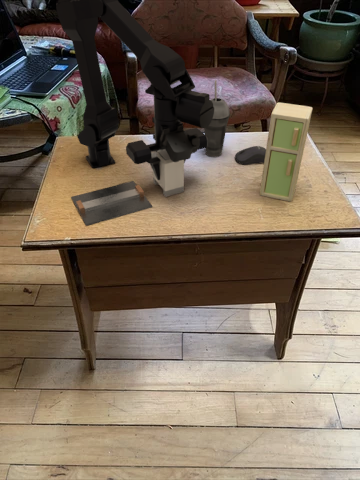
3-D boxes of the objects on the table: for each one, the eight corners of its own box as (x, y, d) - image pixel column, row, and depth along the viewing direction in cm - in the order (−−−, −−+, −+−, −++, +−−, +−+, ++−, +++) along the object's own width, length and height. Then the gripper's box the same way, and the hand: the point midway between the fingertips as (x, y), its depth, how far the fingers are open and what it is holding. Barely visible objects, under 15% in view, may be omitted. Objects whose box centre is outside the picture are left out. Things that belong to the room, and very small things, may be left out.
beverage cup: (210, 162, 112) (215, 89, 99) (195, 151, 117) (198, 80, 104) (231, 155, 115) (238, 83, 102) (216, 144, 120) (221, 74, 107)
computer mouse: (232, 156, 115) (234, 143, 112) (264, 154, 116) (266, 141, 113) (237, 166, 111) (239, 153, 108) (270, 164, 112) (273, 151, 109)
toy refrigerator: (257, 196, 99) (270, 114, 86) (264, 181, 105) (277, 101, 91) (290, 204, 97) (309, 120, 84) (295, 188, 102) (314, 106, 89)
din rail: (71, 198, 98) (70, 191, 97) (133, 182, 104) (132, 176, 103) (86, 226, 90) (85, 219, 89) (152, 207, 96) (152, 200, 95)
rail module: (153, 182, 104) (152, 149, 98) (171, 178, 106) (170, 145, 100) (165, 196, 99) (164, 163, 93) (183, 191, 101) (184, 158, 95)
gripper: (142, 139, 82) (146, 203, 92) (222, 122, 88) (217, 183, 98) (122, 118, 89) (128, 179, 99) (197, 103, 96) (195, 162, 106)
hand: (168, 176), depth 100 cm, fingers closed on rail module, 5 cm apart
